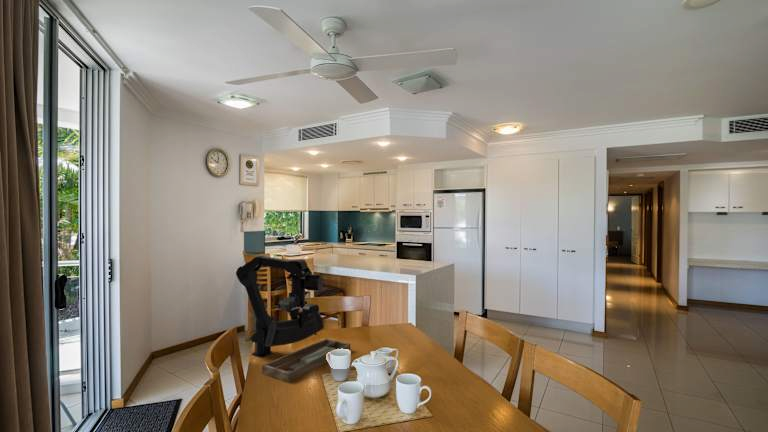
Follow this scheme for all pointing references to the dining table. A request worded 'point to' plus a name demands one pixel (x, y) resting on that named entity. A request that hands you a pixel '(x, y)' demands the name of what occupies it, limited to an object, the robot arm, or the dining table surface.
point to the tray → (282, 364)
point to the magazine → (293, 330)
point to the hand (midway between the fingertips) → (297, 326)
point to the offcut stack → (311, 358)
